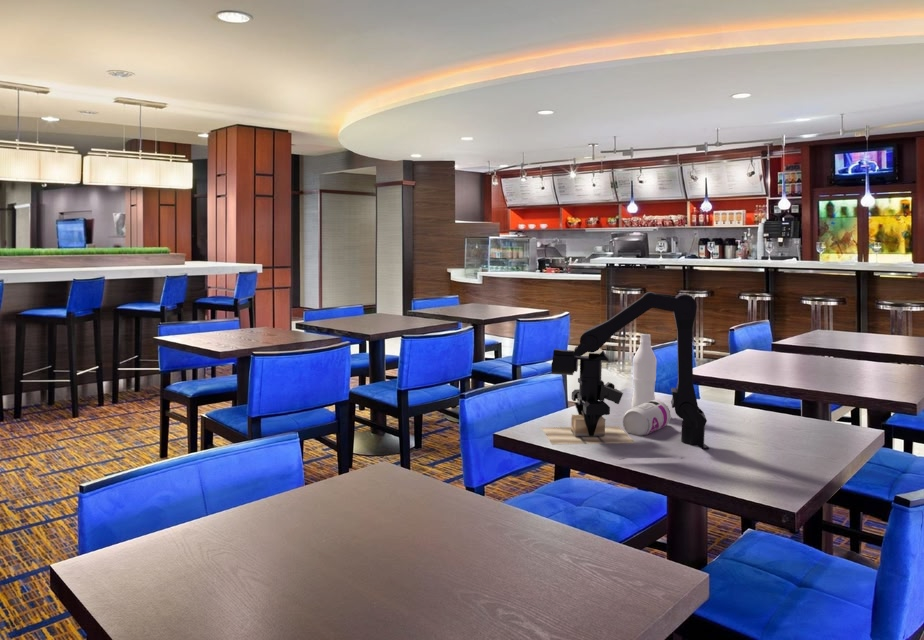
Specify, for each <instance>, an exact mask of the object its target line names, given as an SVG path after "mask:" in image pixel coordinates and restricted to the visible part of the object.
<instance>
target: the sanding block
mask: <svg viewBox="0 0 924 640" xmlns="http://www.w3.org/2000/svg"><path fill="white" fill-rule="evenodd" d="M570 421H571V423H570V427H571V431H572V433H573V434H574V435H575V436H590V435H589V433H588V430H587V427H586V424H585V421H584V418H583V415H579V414H571V420H570ZM605 427H606V418H604V417H603V416H601V417H600V418H599V420H598V423H597V426H596V430H595V433H594V435H593V436H605Z"/></svg>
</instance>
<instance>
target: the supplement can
mask: <svg viewBox="0 0 924 640" xmlns="http://www.w3.org/2000/svg"><path fill="white" fill-rule="evenodd" d="M671 415H672V414H671V410H670V408H669V406H668V405H667V404H666V403H665V402H663V401H662V400H660V399H655V400H652V401H649V402H646V403H644V404H641V405H639V406H636V407H634V408H632V407H631V408H630V409H628V410H626V412H625V414H624V415H623V419H622V426H623V428H624V430H625V433H626V434H632V435H637V436H648V435H649V434H652V433H654V432H655V431H659V430H660V429H663V428H664V427H666V426H668V424H669V423H670V421H671Z"/></svg>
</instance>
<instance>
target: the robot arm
mask: <svg viewBox="0 0 924 640" xmlns="http://www.w3.org/2000/svg"><path fill="white" fill-rule="evenodd" d="M697 307H698V305H697V302H696V299H695V298H694V297H693V296H691V295H690V294H688V293H683V292H682V293H679V294H677V295H672V294H666V293H664V294H663V293H655V292H653V291H647V292H646V293H644V294H643V295H642V296H641V297H640V298H638V299H636V300H635V301H634V302H633V303H631V304H629V305H628V306H627V307H625V308H623V309H622V310H621V311H620V312H618V313H617V314H615V315H614V316H612V317H610V318H609V319H608V320H606V321H604V322H602V323H598V324H596V325H594V326H592V327H591V328H590V327H589V328H588V329H586V330H585V331H583V333H582V335H581V336H580V339H579V344H578V345H577V346H575V347H574V348H573V349H574V350H568V349H566V350H565V349H560V348H555V349H553V352H552V361H551V374H552V375H558V376H560V375H561V376H562V375H563V376H564V375H565V376H574V374H575V372H576V373H577V372H578V368H579V377H578V378H577V383H579V389H574V390H573V391H572V392H571V400H572V401H573V402H574V406H575V409H576V411H577V415H583V418H584V421H585V424H586V427H587V430H588V433H589V435H590V436H593V435H594V433H595V430H596V426H597V423H598V420H599V418H600V417H601V416H602V417H603V416H607V415H611V414H610V412H611V407H610V406H609V405H608V404H607V403H606V402H605V400H608V401H611V402H613V403H614V404H616V405H619V404H620V402H621V400H622V397H623V395H624V392H622V391H620V390H619V389H617V388H616V386H615V384H614V383H611V382H610V381H608V382H607V383H605V382H604V381H603V380H602V370H603V369H602V368H603V367H602V366H603V365H602V363H603V362H605V361H606V362H609V360H610V356H609V355H607V354H606V351H604V350H601V352H598V353H596V352H597V351H599V350H600V349H601V348H602V347H603V346H604V345H605V344H606V343H607V342H608V341H609V340H610V339H611V338H612V337H613V336H614V334H616V333H617V332H618V331H620V330H621V329H623V328H624V327H626V326H627V325H629V324H630V323H632V322H633V321H635V320H636V319H637V318H639V317H641V316H642V315H643V314H645V313H646V312H648V311H649V310H651V309H657V310H661V311H662V310H663V311H666V312H667V311H668V312H672V313H673V318H674V322H675V327H676V337H677V338H676V345H677V347H676V349H677V351H676V352H677V383H676V387H671V388H670V390H671V397H672V398H671V400H670V402H671V403H670V404H671V408H672V409H674V412H675V415H677V416H678V417H679V418H680V419H682V421H681V433H680V437H681V438H680V442H681V443H683V444H685V445H688V446H691V447H693V446H694V447H695V446H697V447H699V448H700V449H702V450H709V449H710V447H709V446H708V445H707V444H706V443H705V431H706V430H705V429H706V428H705V427H706V424H707V421H708V419H707V417H706V415H705V413H704V410H702V409H701V408H700V407H699V405H698V401H697V400H698V399H697V396H696V391H695V386H694V366H693V365H694V363H693V361H694V360H693V358H694V357H693V330H694V329H693V328H694V325H695V318H696V314H697V309H698V308H697ZM586 353H588V355H585V354H586ZM579 360H580V361H579ZM602 361H603V362H602Z"/></svg>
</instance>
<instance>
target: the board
mask: <svg viewBox="0 0 924 640" xmlns="http://www.w3.org/2000/svg"><path fill="white" fill-rule="evenodd" d="M541 429H542V431H543V433H544V434H545V436H546V437H547V439H548V440H549V442H550V444H551V445H589V444H590V445H593V444H595V445H596V444H598V445H599V444H636V443H637V442H636V441H635V440H634V439H632V438H631V436H629V435H628V433H627V432H626V431H624V430H623V429H622V428H621V427H619V426H605V436H575V435H574V434H573V433H572V431H571V426H563V427H560V426H559V427H557V426H556V427H541Z"/></svg>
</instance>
